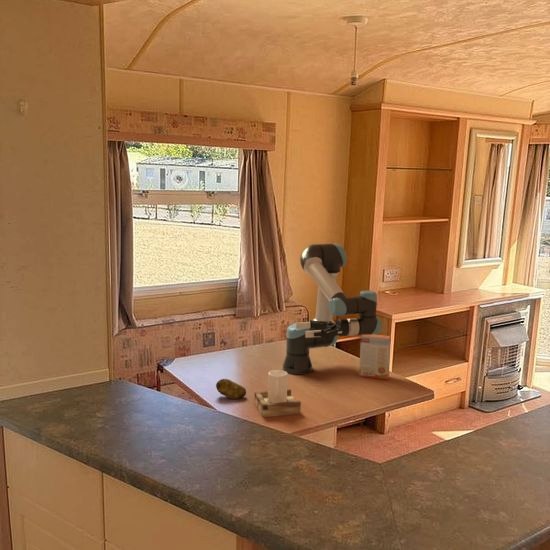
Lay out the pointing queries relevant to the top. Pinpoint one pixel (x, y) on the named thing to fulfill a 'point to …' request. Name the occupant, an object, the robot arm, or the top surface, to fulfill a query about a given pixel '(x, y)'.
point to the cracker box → (375, 356)
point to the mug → (277, 386)
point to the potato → (230, 389)
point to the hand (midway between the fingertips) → (300, 330)
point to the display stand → (276, 405)
